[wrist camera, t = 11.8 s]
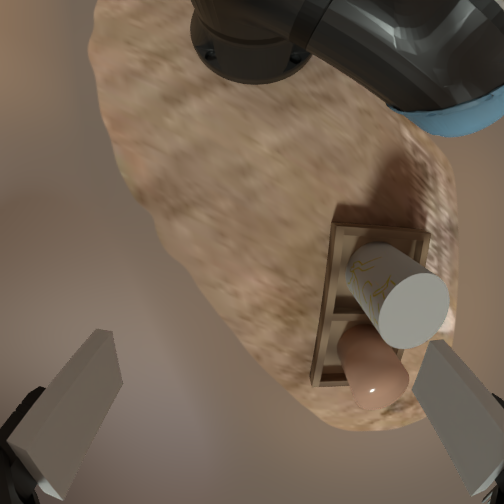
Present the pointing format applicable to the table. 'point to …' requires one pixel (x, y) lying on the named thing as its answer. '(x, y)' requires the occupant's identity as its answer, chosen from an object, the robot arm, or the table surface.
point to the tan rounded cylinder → (371, 367)
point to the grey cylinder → (397, 294)
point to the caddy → (342, 300)
